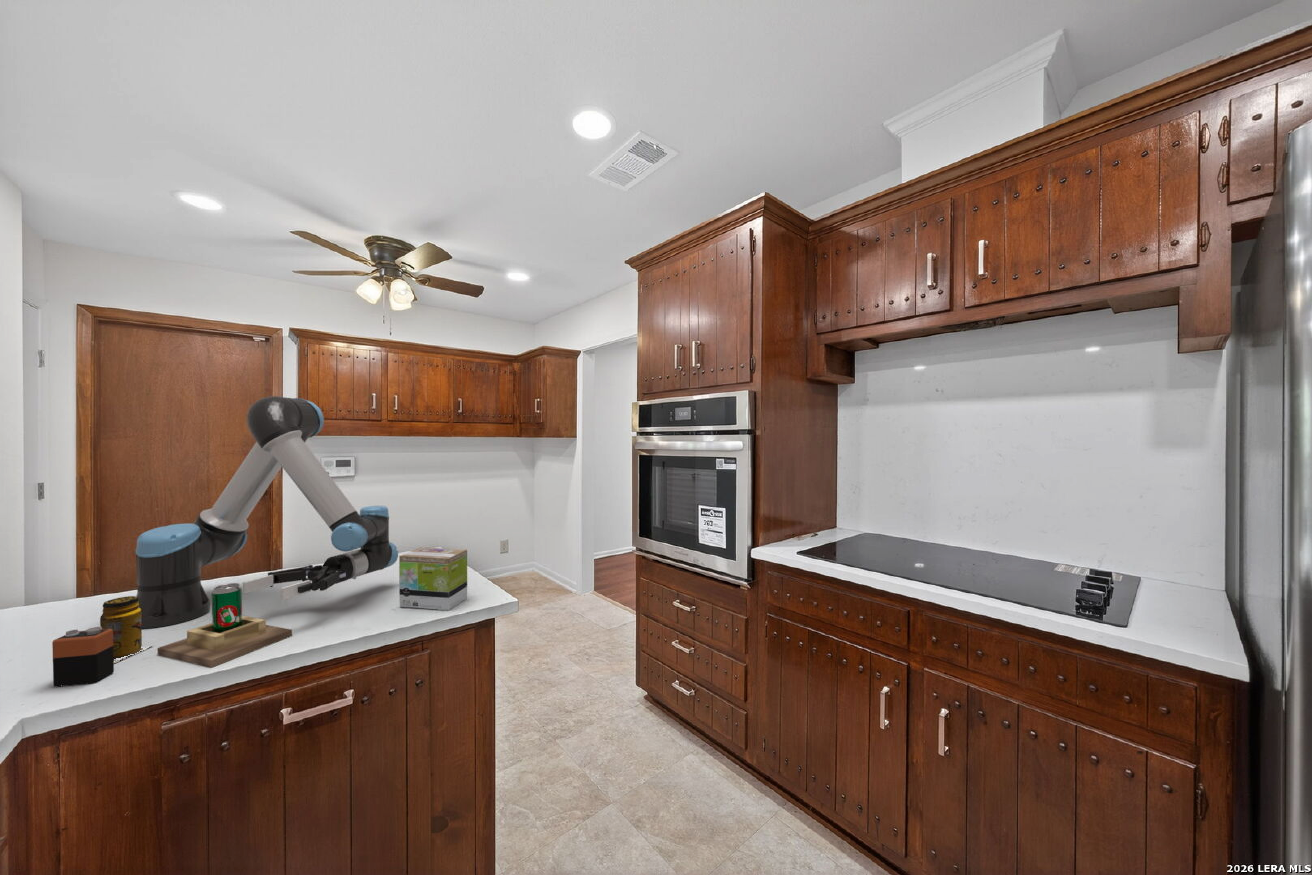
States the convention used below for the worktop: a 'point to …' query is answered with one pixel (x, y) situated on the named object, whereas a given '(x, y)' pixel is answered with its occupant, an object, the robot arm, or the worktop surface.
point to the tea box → (433, 578)
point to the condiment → (123, 625)
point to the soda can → (226, 607)
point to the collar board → (224, 642)
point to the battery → (83, 656)
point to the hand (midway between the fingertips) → (262, 590)
